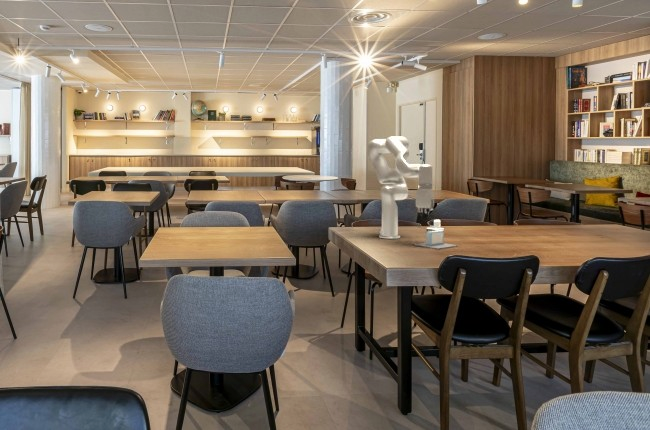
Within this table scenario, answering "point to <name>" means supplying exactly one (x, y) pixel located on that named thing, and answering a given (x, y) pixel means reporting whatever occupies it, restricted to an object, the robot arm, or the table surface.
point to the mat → (436, 246)
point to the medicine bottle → (435, 225)
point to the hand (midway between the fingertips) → (425, 220)
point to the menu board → (434, 238)
